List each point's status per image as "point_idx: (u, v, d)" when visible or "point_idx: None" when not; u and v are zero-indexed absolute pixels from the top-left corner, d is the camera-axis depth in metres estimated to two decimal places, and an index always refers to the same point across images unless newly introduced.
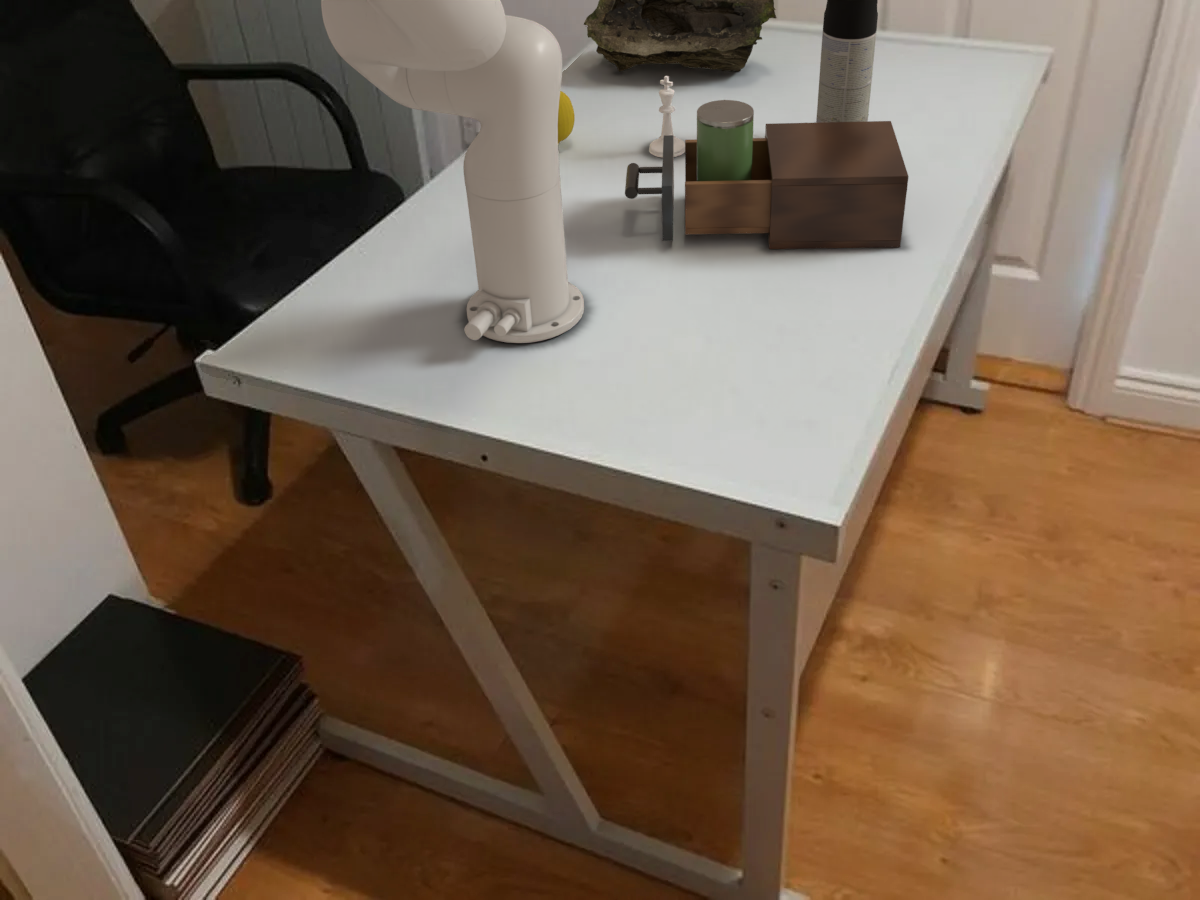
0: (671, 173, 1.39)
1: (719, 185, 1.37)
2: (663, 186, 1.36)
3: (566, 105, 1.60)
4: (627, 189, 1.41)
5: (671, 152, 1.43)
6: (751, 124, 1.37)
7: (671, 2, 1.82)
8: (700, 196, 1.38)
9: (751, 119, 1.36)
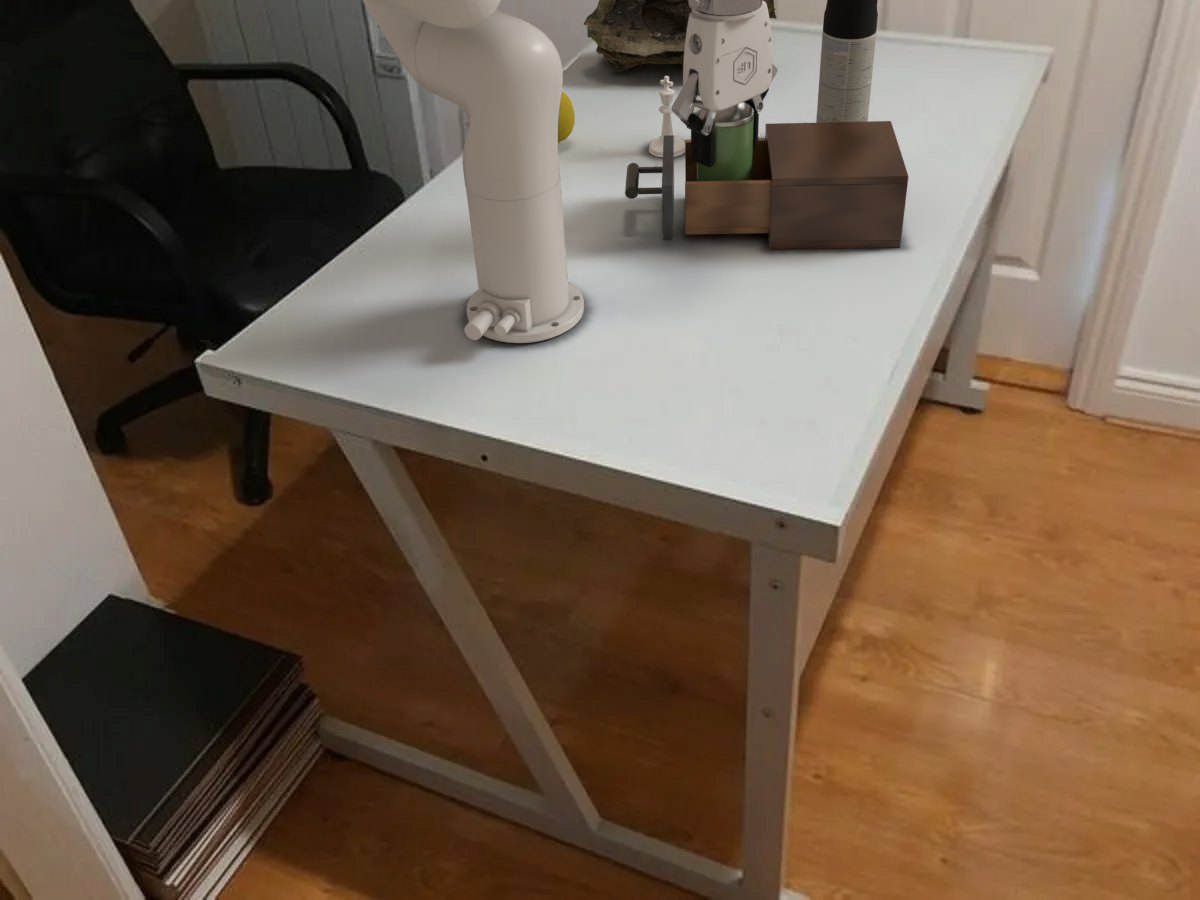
0: (671, 173, 1.39)
1: (719, 185, 1.37)
2: (663, 186, 1.36)
3: (566, 105, 1.60)
4: (627, 189, 1.41)
5: (671, 152, 1.43)
6: (751, 124, 1.37)
7: (671, 2, 1.82)
8: (700, 196, 1.38)
9: (751, 119, 1.36)
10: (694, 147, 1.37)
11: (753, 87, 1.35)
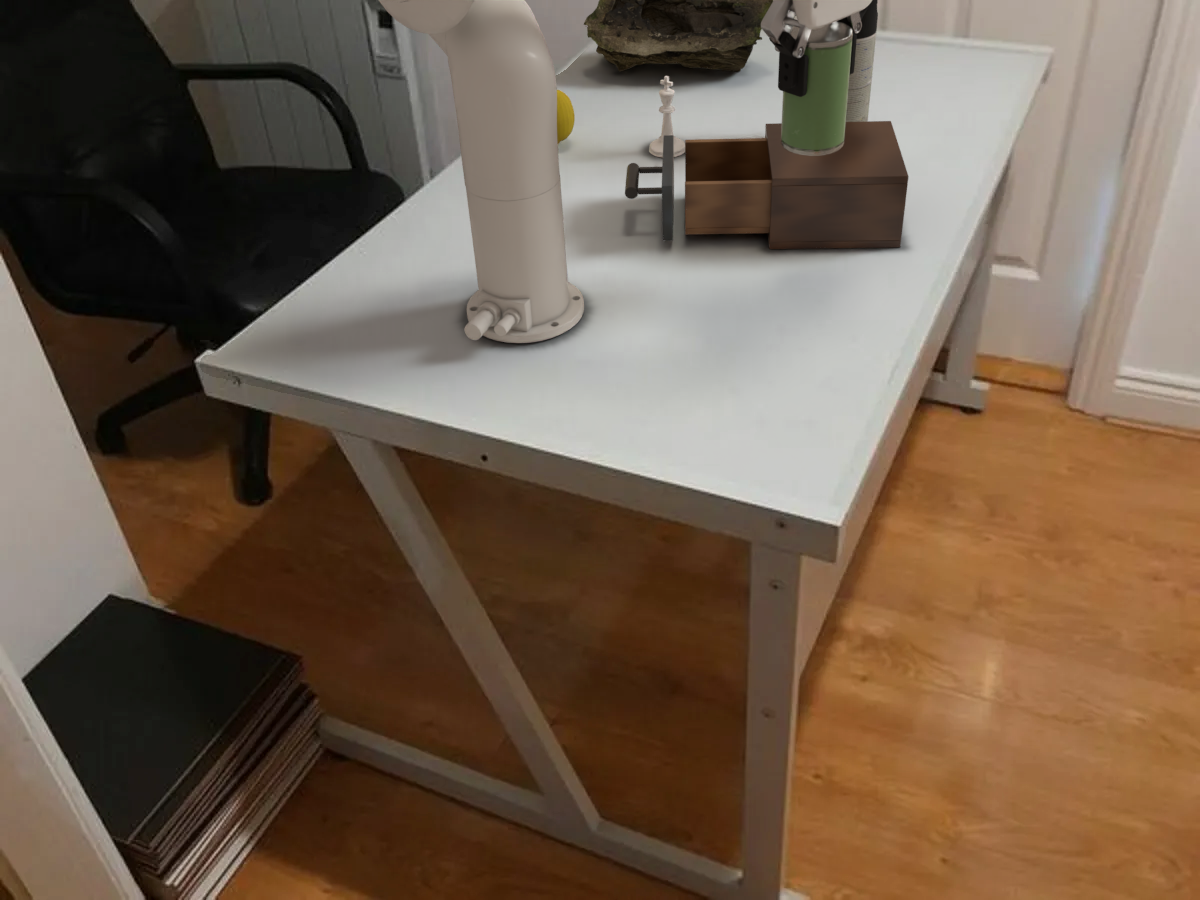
0: (671, 173, 1.39)
1: (719, 185, 1.37)
2: (663, 186, 1.36)
3: (566, 105, 1.60)
4: (627, 189, 1.41)
5: (671, 152, 1.43)
6: (850, 46, 1.17)
7: (671, 2, 1.82)
8: (700, 196, 1.38)
9: (850, 39, 1.17)
10: (783, 73, 1.18)
11: (854, 1, 1.15)
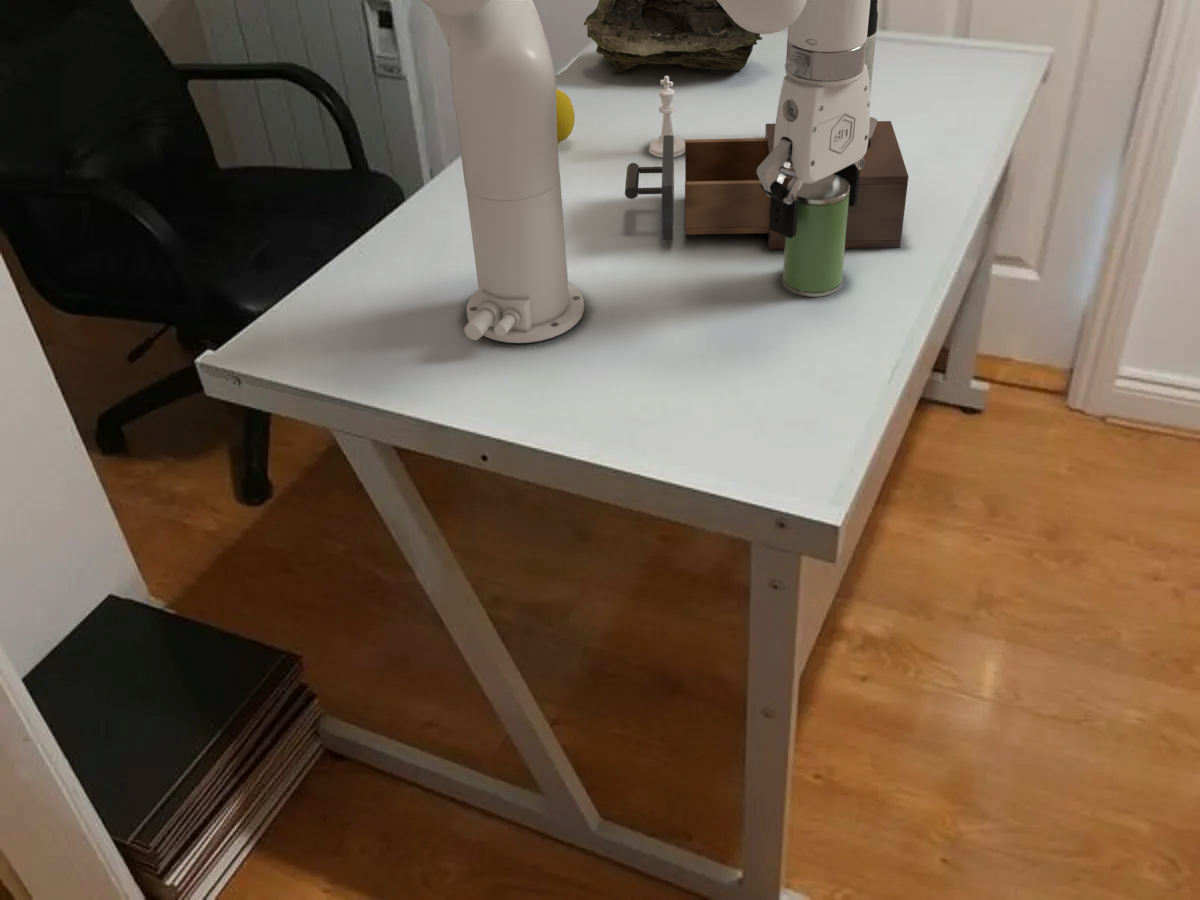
0: (671, 173, 1.39)
1: (719, 185, 1.37)
2: (663, 186, 1.36)
3: (566, 105, 1.60)
4: (627, 189, 1.41)
5: (671, 152, 1.43)
6: (847, 200, 1.26)
7: (671, 1, 1.82)
8: (700, 196, 1.38)
9: (847, 195, 1.25)
10: (774, 216, 1.25)
11: (849, 155, 1.23)
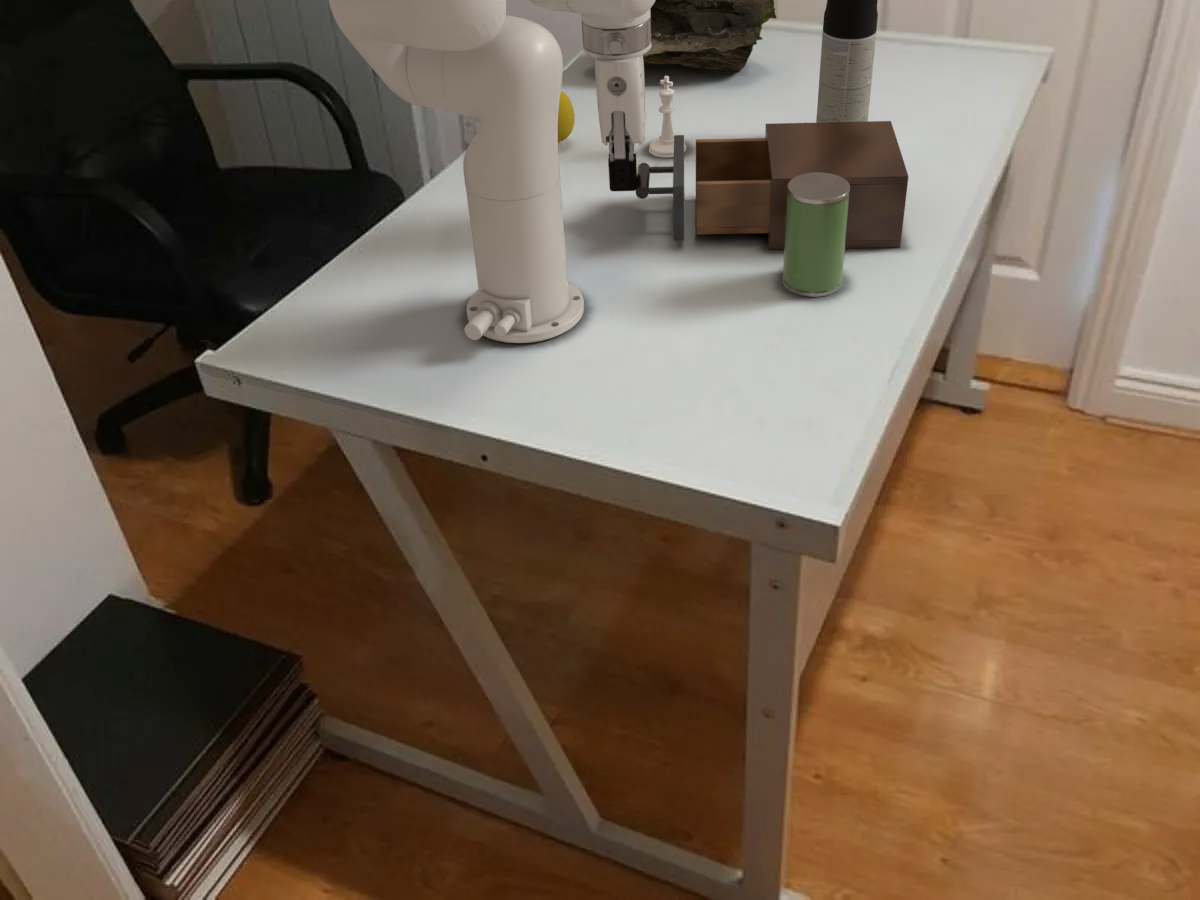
0: (682, 173, 1.39)
1: (731, 185, 1.37)
2: (674, 186, 1.36)
3: (566, 105, 1.60)
4: (638, 189, 1.41)
5: (681, 152, 1.43)
6: (847, 200, 1.26)
7: (671, 1, 1.82)
8: (711, 195, 1.37)
9: (847, 195, 1.25)
10: (618, 177, 1.42)
11: None
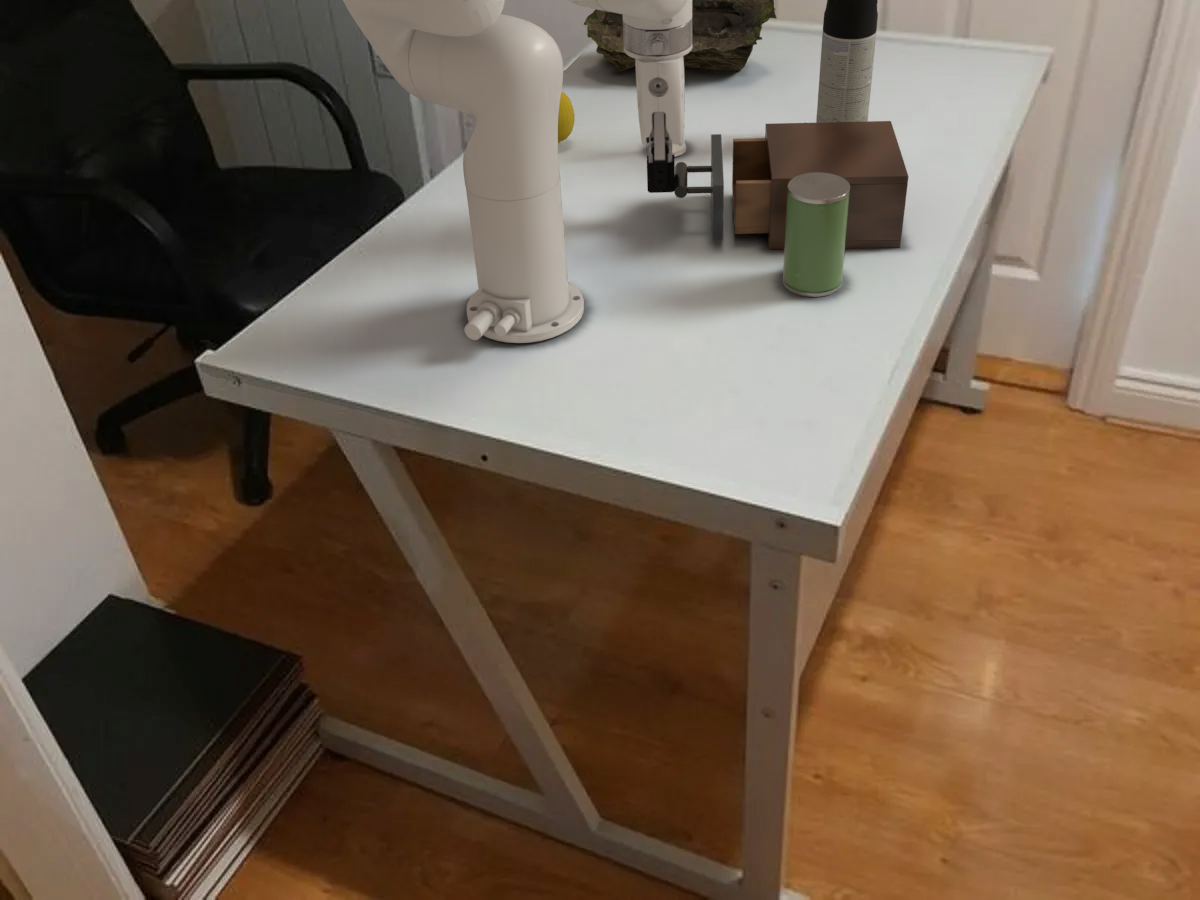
0: (722, 172, 1.38)
1: None
2: (714, 185, 1.36)
3: (566, 105, 1.60)
4: (677, 188, 1.40)
5: (720, 151, 1.43)
6: (847, 200, 1.26)
7: None
8: (751, 195, 1.37)
9: (847, 195, 1.25)
10: (657, 178, 1.42)
11: None
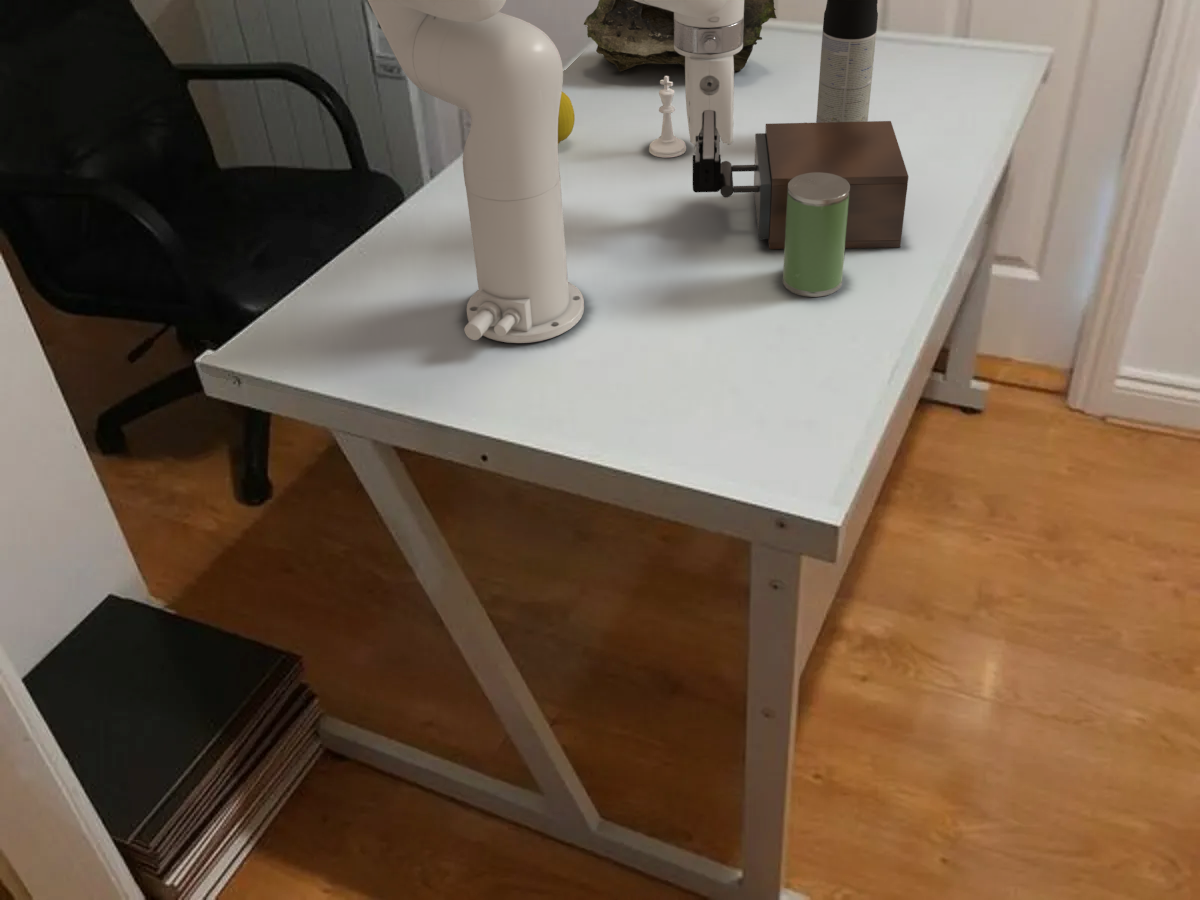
0: (768, 171, 1.38)
1: None
2: (762, 184, 1.35)
3: (566, 105, 1.60)
4: (723, 187, 1.40)
5: (765, 150, 1.42)
6: (847, 200, 1.26)
7: None
8: None
9: (847, 195, 1.25)
10: (703, 178, 1.41)
11: None
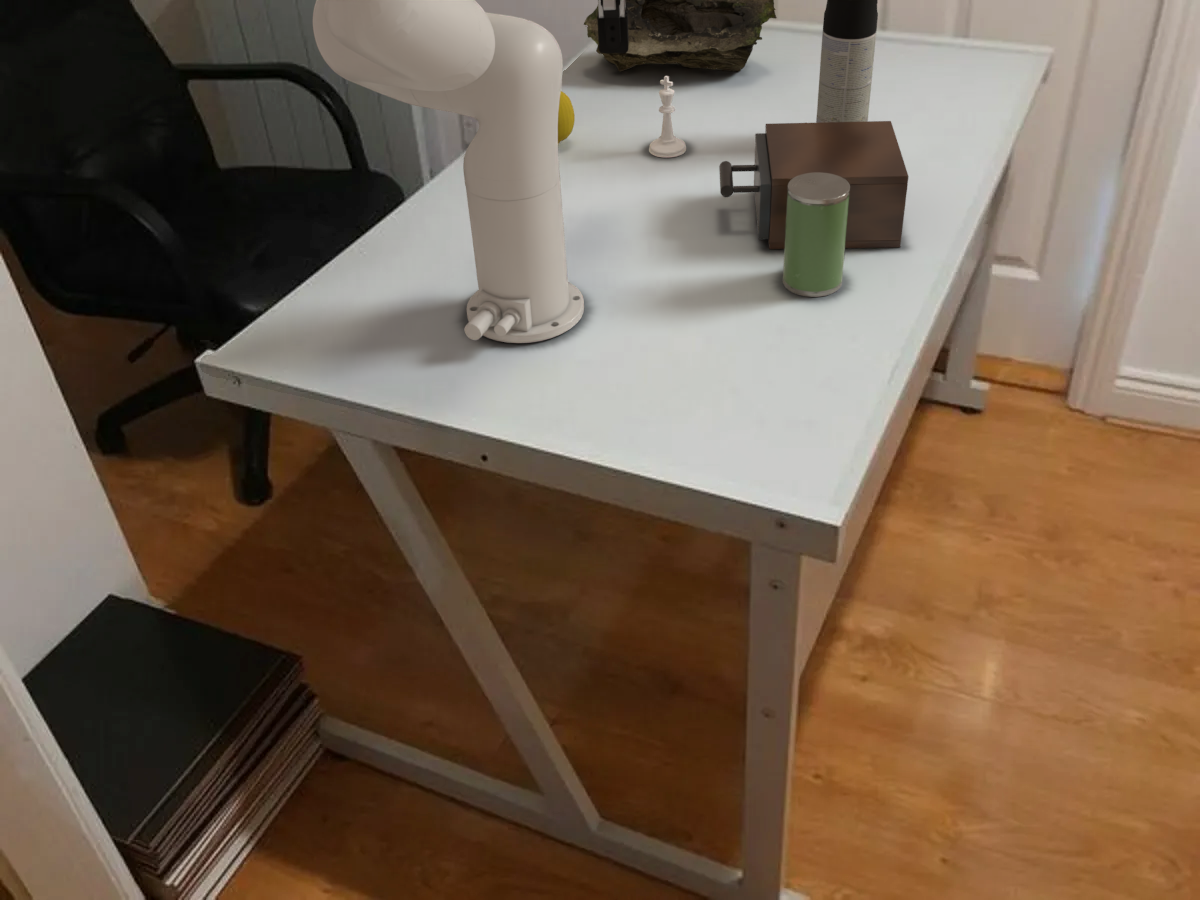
0: (768, 171, 1.38)
1: None
2: (762, 184, 1.35)
3: (566, 105, 1.60)
4: (723, 187, 1.40)
5: (765, 150, 1.42)
6: (847, 200, 1.26)
7: (671, 1, 1.82)
8: None
9: (847, 195, 1.25)
10: (608, 36, 1.31)
11: None
